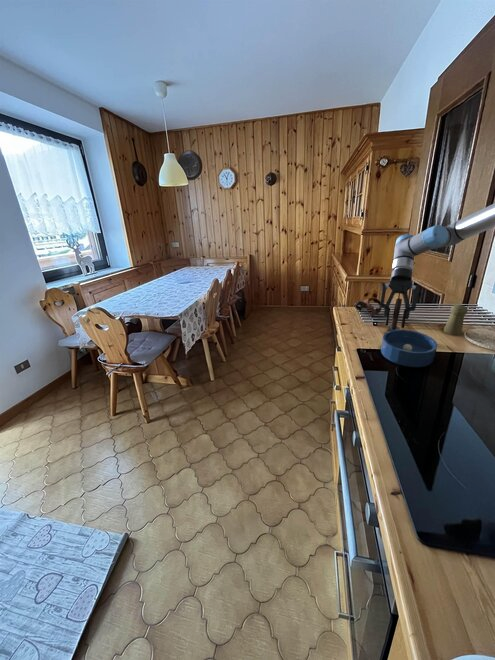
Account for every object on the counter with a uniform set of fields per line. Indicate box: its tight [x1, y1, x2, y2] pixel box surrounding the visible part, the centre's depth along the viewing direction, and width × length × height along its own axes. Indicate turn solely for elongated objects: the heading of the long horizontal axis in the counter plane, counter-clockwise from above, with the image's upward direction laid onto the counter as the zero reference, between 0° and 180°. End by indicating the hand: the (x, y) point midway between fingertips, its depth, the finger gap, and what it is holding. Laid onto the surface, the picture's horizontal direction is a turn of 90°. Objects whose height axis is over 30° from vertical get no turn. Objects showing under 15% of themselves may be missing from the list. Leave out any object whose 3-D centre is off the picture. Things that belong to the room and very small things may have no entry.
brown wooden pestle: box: [386, 298, 403, 332], centre depth 110 cm, size 4×4×15 cm
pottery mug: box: [354, 297, 382, 317], centre depth 132 cm, size 12×9×8 cm
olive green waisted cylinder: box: [443, 304, 468, 336], centre depth 110 cm, size 6×6×11 cm
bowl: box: [380, 329, 439, 368], centre depth 99 cm, size 17×17×6 cm
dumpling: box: [403, 344, 412, 351], centre depth 99 cm, size 3×3×3 cm
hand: (394, 325), depth 108 cm, fingers open, 5 cm apart
